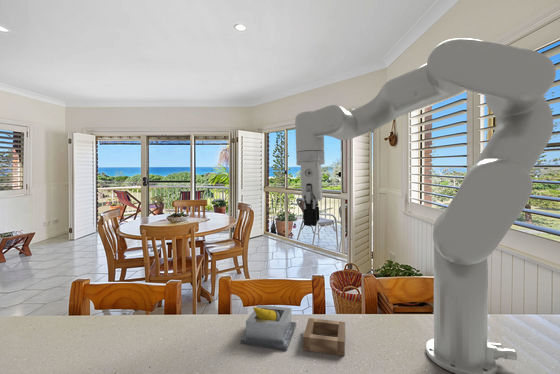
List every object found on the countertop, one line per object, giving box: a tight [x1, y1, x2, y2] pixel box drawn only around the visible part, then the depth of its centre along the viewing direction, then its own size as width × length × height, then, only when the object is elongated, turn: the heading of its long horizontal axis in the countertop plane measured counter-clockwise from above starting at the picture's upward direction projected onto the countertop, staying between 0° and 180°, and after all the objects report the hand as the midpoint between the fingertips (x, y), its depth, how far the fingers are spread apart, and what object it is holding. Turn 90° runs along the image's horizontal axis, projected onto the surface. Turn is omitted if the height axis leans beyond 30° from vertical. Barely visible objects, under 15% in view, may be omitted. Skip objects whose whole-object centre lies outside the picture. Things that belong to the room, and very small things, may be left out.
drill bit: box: [252, 306, 280, 322], centre depth 69 cm, size 5×5×10 cm
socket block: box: [302, 317, 346, 357], centre depth 66 cm, size 9×9×3 cm
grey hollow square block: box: [239, 304, 297, 351], centre depth 69 cm, size 11×11×5 cm
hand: (312, 222), depth 76 cm, fingers open, 9 cm apart
